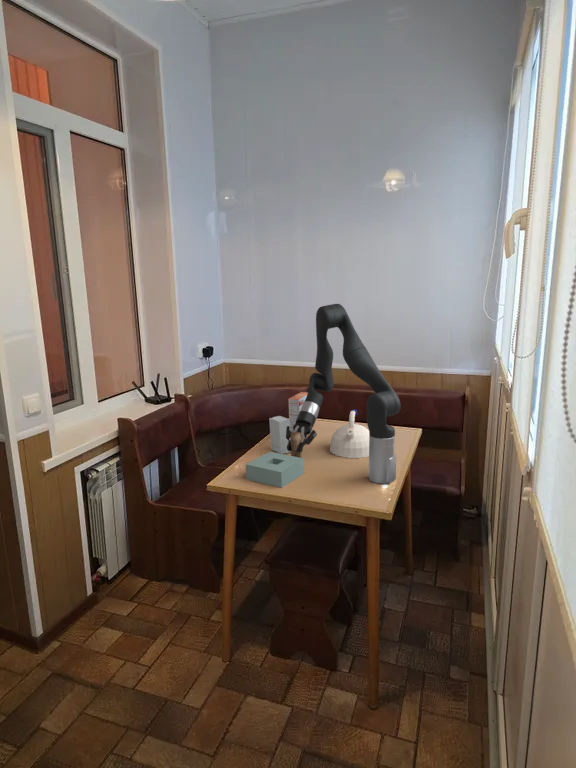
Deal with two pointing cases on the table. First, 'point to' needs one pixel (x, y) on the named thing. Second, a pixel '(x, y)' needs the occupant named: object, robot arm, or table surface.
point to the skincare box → (279, 434)
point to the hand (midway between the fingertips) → (293, 451)
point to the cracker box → (296, 407)
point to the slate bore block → (275, 469)
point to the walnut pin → (295, 443)
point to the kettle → (350, 439)
